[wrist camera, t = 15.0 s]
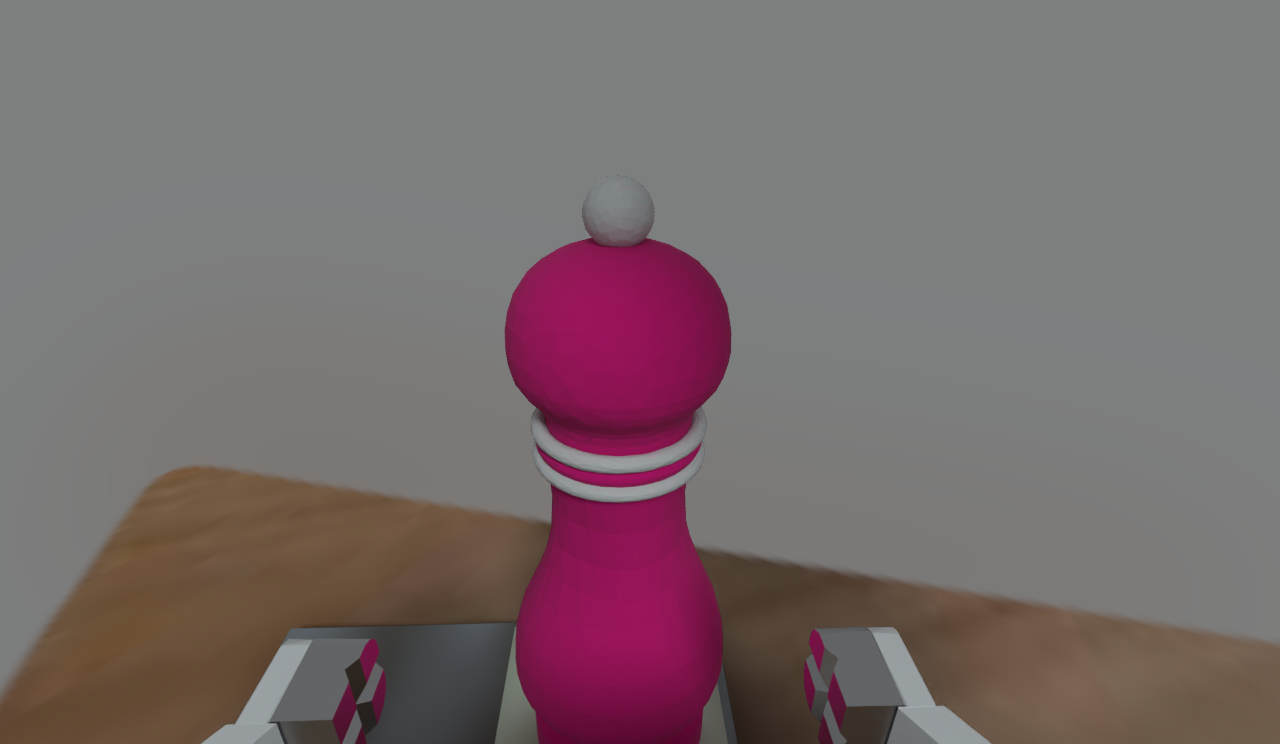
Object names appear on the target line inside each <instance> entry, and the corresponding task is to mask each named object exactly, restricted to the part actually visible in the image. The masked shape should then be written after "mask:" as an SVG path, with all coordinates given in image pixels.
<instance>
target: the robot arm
mask: <svg viewBox="0 0 1280 744" xmlns="http://www.w3.org/2000/svg"><path fill="white" fill-rule="evenodd" d="M809 644H810V647H811V650H812V654H811V655H810V656H809V657H808V658H807V659H806V661H805V668H804V687H805V692H806V697H807V702H808V705H809V708H810V712H811V714H812V715H813V716H815V717H816V718H817V719H818V720H819V721H820V722H821V726H820V731H819V735H818V738H819V741H820V744H991V743H990V742H989V741H988V740H986V739H985V738H984V737H983V736H981V735H980V734H979V733H978V732H976V731H975V730H974V729H973V728H971V727H970V726H969V725H968V724H966V723H965V722H964V721H963V720H961V719H960V718H959V717H958V716H956V715H955V714H954V713H953V712H951V711H950V710H949V709H948V708H946V707H945V706H936V704H935V702H934V700H933V698H932V696H931V695H930V693H929V691H928V689H927V687H926V685H925V683H924V681H923V679H922V677H921V675H920V673H919V671H918V670H917V668H916V666H915V664H914V662H913V660H912V658H911V656H910V654H909V652H908V650H907V648H906V646H905V645H904V643H903V641H902V639H901V637H900V635H899V633H898V631H897V630H895V629H894V628H893V627H872V628H864V627H854V628H825V629H814V630H813V631H812V633H811V636H810V641H809ZM378 654H379V649H378V646H377V642H376V639H288V640H287V641H286V642H285V643H284V644H283V645H282V646H281V647H280V648H279V650H278V651H277V653H276V655H275V657H274V658H273V660H272V662H271V663H270V665H269V667H268V668H267V670H266V672H265V674H264V675H263V677H262V679H261V680H260V682H259V684H258V685H257V687H256V689H255V691H254V692H253V694H252V696H251V697H250V699H249V701H248V702H247V704H246V706H245V708H244V709H243V711H242V713H241V714H240V716H239V718H238V719H237V721H236V723H235V724H227V725H225V726H223V727H222V728H221V729H220V730H218V731H217V732H216V733H214V734H213V735H212V736H210V737H209V738H208V739H207V740H205V741H204V742H203V743H201V744H367V742H366V738H365V736H366V735H367V734H368V733H369V732H370V731H371V730H372V729H373V728H374V727H375V726H376V725H377V724H378V722H379V719H380V716H381V713H382V710H383V706H384V700H385V694H386V677H385V673H384V669H383V668H382V667H381V666H379V665H378V664H377V663H376V659H377V657H378Z"/></svg>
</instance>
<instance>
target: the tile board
mask: <svg viewBox="0 0 1280 744" xmlns="http://www.w3.org/2000/svg"><path fill="white" fill-rule="evenodd" d="M516 625H517V623H484V624H447V625H409V626H372V627H334V628H297V629H290V631H289V633H288V634H287V636H286V638H285V640H284V641H283V643H282V645H283V644H284V643H285V642H286V641H287V640H288V639H376V642H377V646H378V649H379V654H378V657H377V659H376V663H377V664H378V665H379V666H381V667H382V668H383V669H384V673H385V677H386V694H385V700H384V706H383V710H382V713H381V716H380V719H379V722H378V724H377V725H376V726H375V727H374V728H373V729H372V730H371V731H370V732H369V733H368V734H367V735H366V736H365V738H366V742H367V744H539V741H538V735H537V723H536V712H535V710H534V709H533V708H532V707H531V706H530V704H529V702H528V700H527V698H526V696H525V695H524V693H523V690H522V687H521V684H520V680H519V677H518V674H517V667H516ZM282 645H281V646H282ZM699 744H738V743H737V738H736V732H735V727H734V722H733V716H732V711H731V706H730V701H729V695H728V690H727V685H726V679H725V674H724V669H723V664H722V666H721V672H720V675H719V679H718V682H717V684H716V687H715V689H714V691H713V693H712V695H711V697H710V700H709V701H708V703H707V704H706V705H705V707H704V708H703V719H702V730H701V738H700V742H699Z"/></svg>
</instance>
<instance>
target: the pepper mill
mask: <svg viewBox="0 0 1280 744" xmlns="http://www.w3.org/2000/svg"><path fill="white" fill-rule="evenodd" d="M582 218H583V221H584V225H585V229H586V230H587V232H588V233H589V235H590V236H591V237H592V238H589V239H586V240H582V241H578V242H574V243H570V244H568V245H566V246H563V247H561V248H559V249H557V250H555V251H554V252H552V253H550V254H549V255H547V256H546V257H544V258H542V259H541V260H540V261H538V262H537V263H536V264H535V265H534V266H533V267H532V268H531V269H529V271H527V272H526V274H525V276H524V277H523V279H522V280H521V282H520V283H519V285H518V287H517V288H516V290H515V291H514V293H513V295H512V299H511V302H510V305H509V308H508V311H507V317H506V325H505V349H506V356H507V362H508V366H509V369H510V372H511V375H512V377H513V380H514V382H515V385H516V386H517V387H518V388H519V390H520V391H521V392H522V393H523V395H524V396H525V397H526V398H527V399H528V401H529V402H530V403H532V404H533V405H534V406H535V407H536V409H535V410H534V412H533V415H532V418H531V432H532V435H533V437H534V439H535V441H534V445H533V458H534V462H535V465H536V467H537V469H538V471H539V472H540V473H541V475H542V476H543V477H544V478H545V479H546V480H547V481H548V482H549V483H550V484H551V490H552V523H551V530H550V535H549V539H548V544H547V547H546V549H545V552H544V554H543V557H542V559H541V561H540V563H539V565H538V567H537V569H536V571H535V573H534V575H533V577H532V579H531V581H530V583H529V585H528V587H527V588H526V591H525V594H524V597H523V601H522V604H521V608H520V612H519V616H518V620H517V625H516V667H517V674H518V677H519V680H520V684H521V687H522V690H523V693H524V695H525V696H526V698H527V700H528V702H529V704H530V706H531V707H532V708H533V709H534V710H535V712H536V723H537V735H538V741H539V744H699V742H700V738H701V730H702V719H703V708H704V707H705V705H706V704H707V703H708V701H709V700H710V697H711V695H712V693H713V691H714V689H715V687H716V684H717V682H718V679H719V675H720V672H721V666H722V655H723V636H722V621H721V615H720V612H719V608H718V604H717V601H716V597H715V593H714V590H713V586H712V584H711V581H710V579H709V577H708V575H707V573H706V571H705V569H704V567H703V565H702V562H701V560H700V558H699V556H698V554H697V552H696V549H695V547H694V544H693V542H692V540H691V537H690V535H689V531H688V527H687V522H686V511H685V488H686V483H687V482H688V481H689V480H690V479H692V478H693V477H694V476H695V474H696V473H697V472H698V470H699V469H700V468H701V465H702V462H703V459H704V455H705V448H704V442H703V438H704V435H705V432H706V427H707V420H706V416H705V413H704V411H703V409H702V407H701V405H703V404H704V403H705V402H706V400H707V399H709V398H710V396H711V395H712V394H713V393H714V392H715V391H716V390H717V388H718V386H719V384H720V383H721V381H722V379H723V377H724V374H725V371H726V368H727V366H728V363H729V358H730V353H731V327H730V320H729V314H728V307H727V304H726V301H725V299H724V297H723V294H722V292H721V290H720V288H719V286H718V284H717V283H716V281H715V279H714V278H713V277H712V275H711V274H710V273H709V272H708V271H707V270H706V269H705V268H704V267H703V266H702V265H701V264H700V262H699V261H697V260H696V259H694V258H693V257H691V256H690V255H688V254H687V253H685V252H683V251H681V250H679V249H677V248H675V247H673V246H671V245H669V244H666V243H662V242H659V241H655V240H652V239H648V238H646V237H647V235H648V233H649V232H650V230H651V228H652V225H653V222H654V205H653V202H652V199H651V196H650V194H649V192H648V191H647V190H646V189H645V188H644V186H643V185H642V184H640V183H639V182H638V181H636V180H635V179H632V178H630V177H627V176H619V175H618V176H611V177H606V178H604V179H602V180H600V181H599V182H597V183H596V184H595V185H594V186H593V187H592V188H591V189H590V190H589V192H588V194H587V196H586V198H585V200H584V203H583V208H582Z"/></svg>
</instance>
